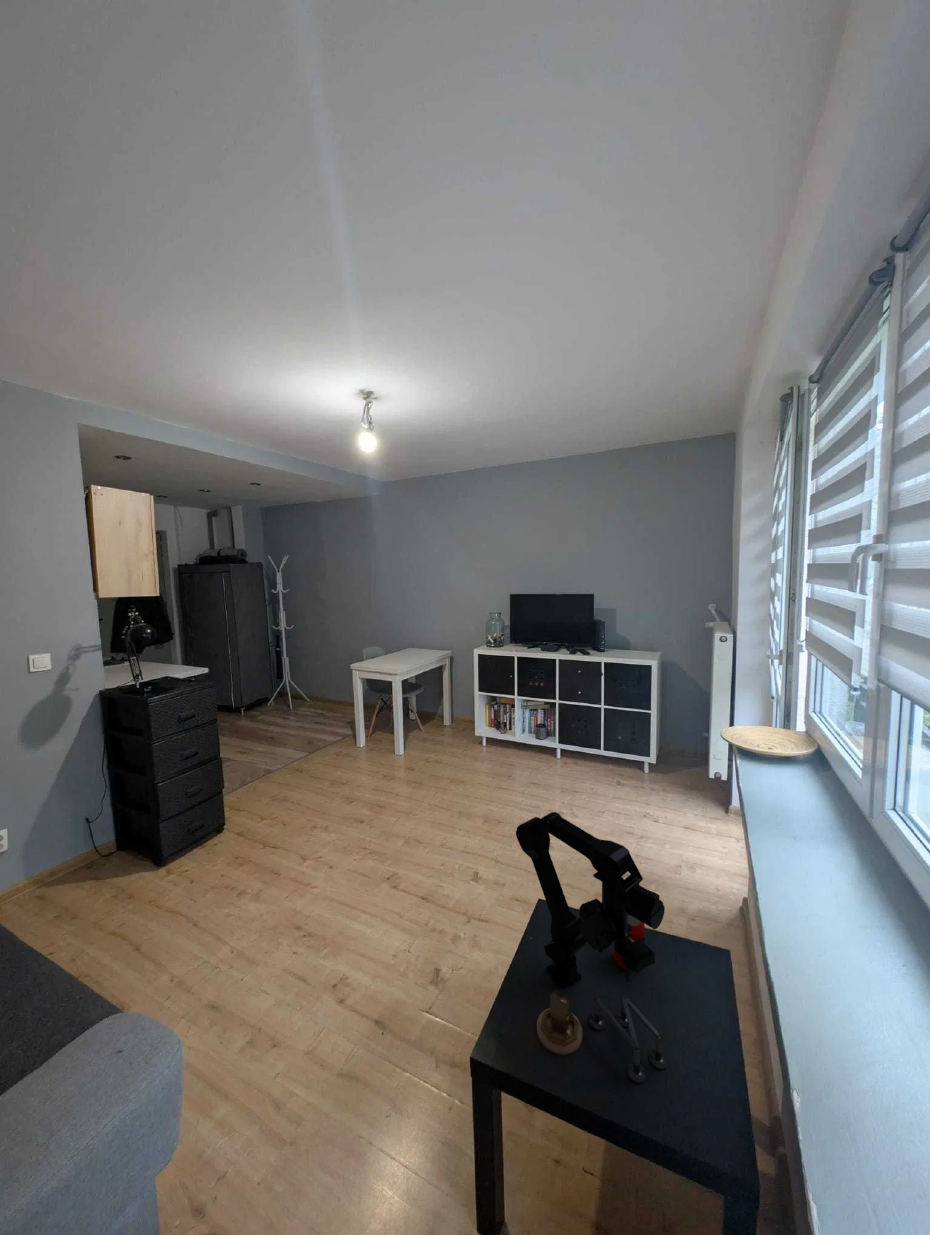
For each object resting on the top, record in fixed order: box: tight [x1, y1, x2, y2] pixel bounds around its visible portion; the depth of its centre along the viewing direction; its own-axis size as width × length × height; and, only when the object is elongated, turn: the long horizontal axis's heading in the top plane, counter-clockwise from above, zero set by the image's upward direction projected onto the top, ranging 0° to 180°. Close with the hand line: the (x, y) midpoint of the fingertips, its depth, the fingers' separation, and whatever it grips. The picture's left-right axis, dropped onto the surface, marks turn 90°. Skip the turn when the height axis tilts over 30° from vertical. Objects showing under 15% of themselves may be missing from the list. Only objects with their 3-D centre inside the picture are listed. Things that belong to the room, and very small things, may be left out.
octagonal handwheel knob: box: [540, 990, 579, 1047], centre depth 104 cm, size 8×8×7 cm
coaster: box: [536, 1007, 583, 1056], centre depth 104 cm, size 10×10×1 cm
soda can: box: [613, 915, 646, 971], centre depth 122 cm, size 8×8×12 cm
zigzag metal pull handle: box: [588, 994, 669, 1084], centre depth 101 cm, size 16×10×6 cm, turn 24°
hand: (614, 966), depth 107 cm, fingers open, 9 cm apart
